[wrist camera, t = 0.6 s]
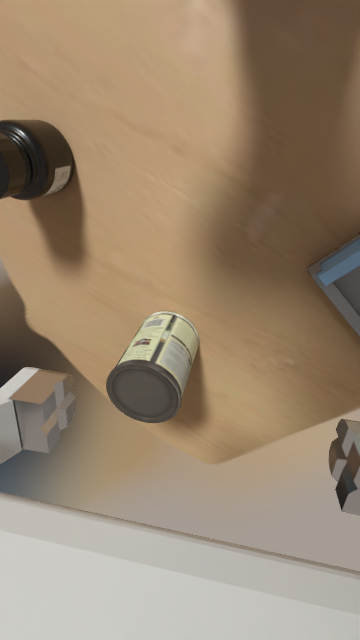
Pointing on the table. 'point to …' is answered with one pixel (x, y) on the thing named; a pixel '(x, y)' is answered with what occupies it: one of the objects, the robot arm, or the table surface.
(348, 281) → the board
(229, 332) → the table surface
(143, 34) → the table surface
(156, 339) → the coffee can
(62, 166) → the ink bottle
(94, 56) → the table surface
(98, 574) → the robot arm
